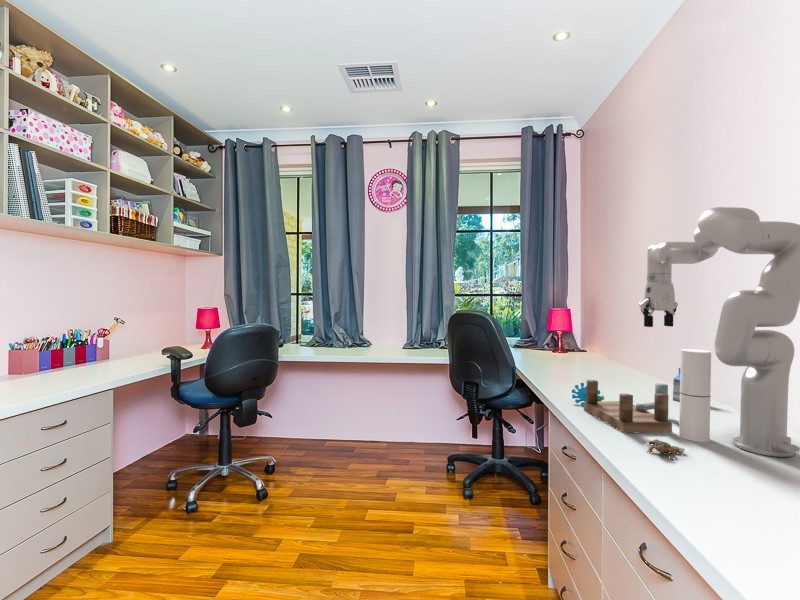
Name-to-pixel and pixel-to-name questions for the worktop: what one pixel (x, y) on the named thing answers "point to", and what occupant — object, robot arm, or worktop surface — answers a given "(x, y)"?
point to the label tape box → (676, 387)
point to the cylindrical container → (695, 395)
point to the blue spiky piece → (583, 394)
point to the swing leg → (642, 407)
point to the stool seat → (628, 412)
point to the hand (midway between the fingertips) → (658, 326)
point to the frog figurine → (664, 448)
